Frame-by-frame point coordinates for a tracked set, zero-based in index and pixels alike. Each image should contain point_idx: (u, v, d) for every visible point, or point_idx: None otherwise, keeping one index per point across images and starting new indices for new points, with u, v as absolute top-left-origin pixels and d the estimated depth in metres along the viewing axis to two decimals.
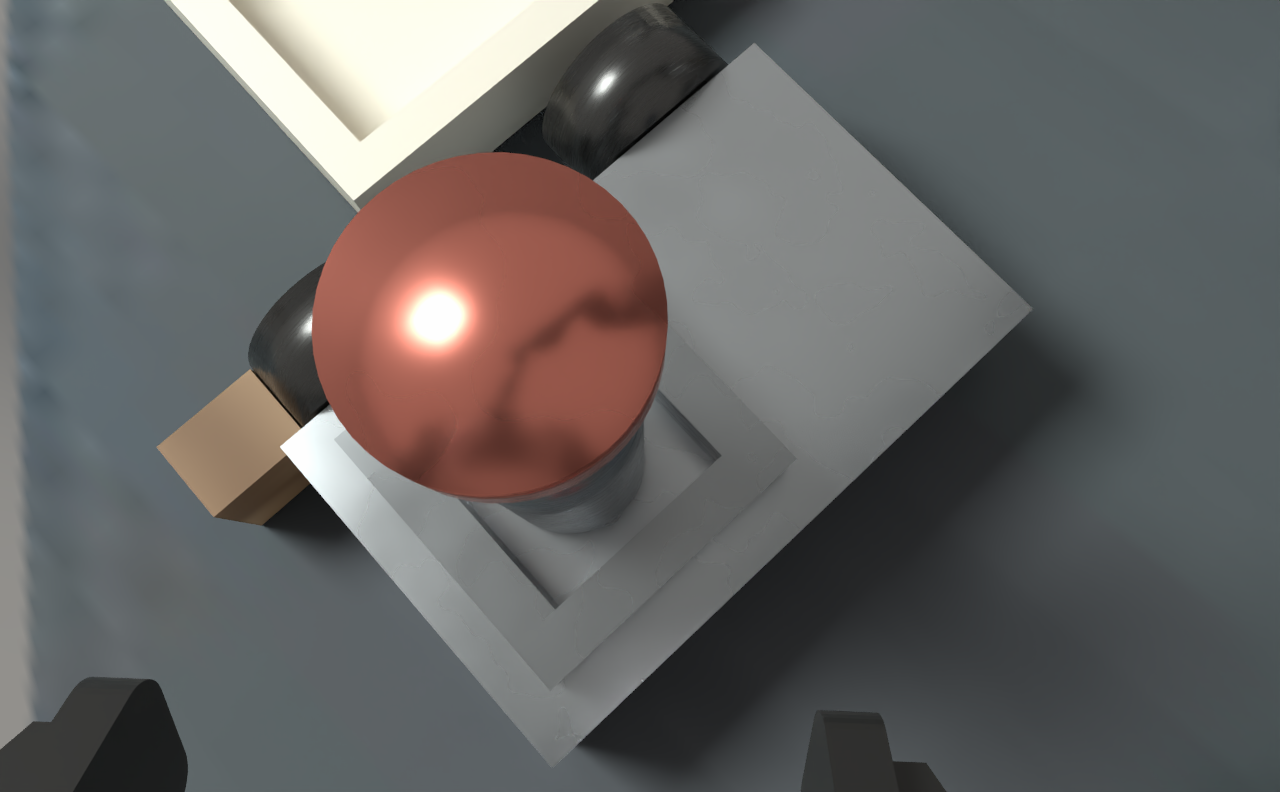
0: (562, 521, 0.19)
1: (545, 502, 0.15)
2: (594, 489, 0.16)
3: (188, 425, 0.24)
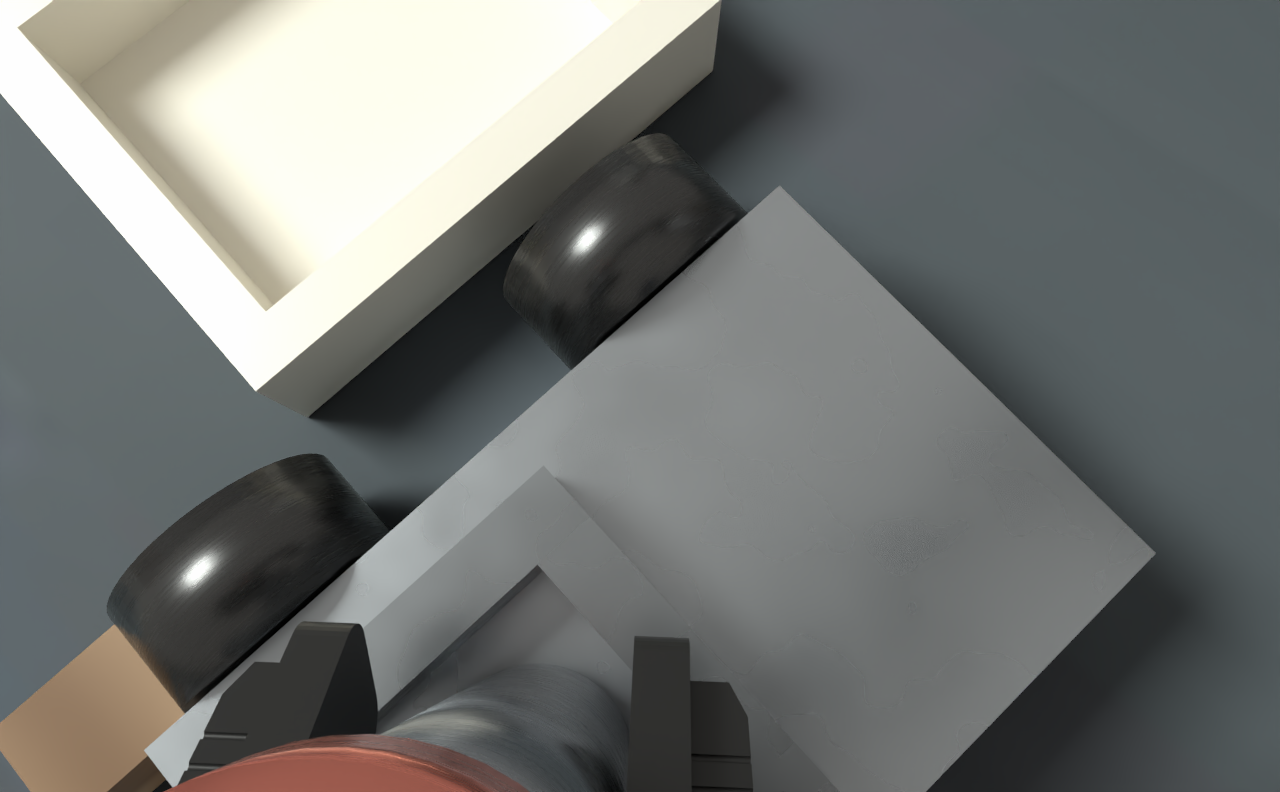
0: None
1: None
2: None
3: (30, 702, 0.18)
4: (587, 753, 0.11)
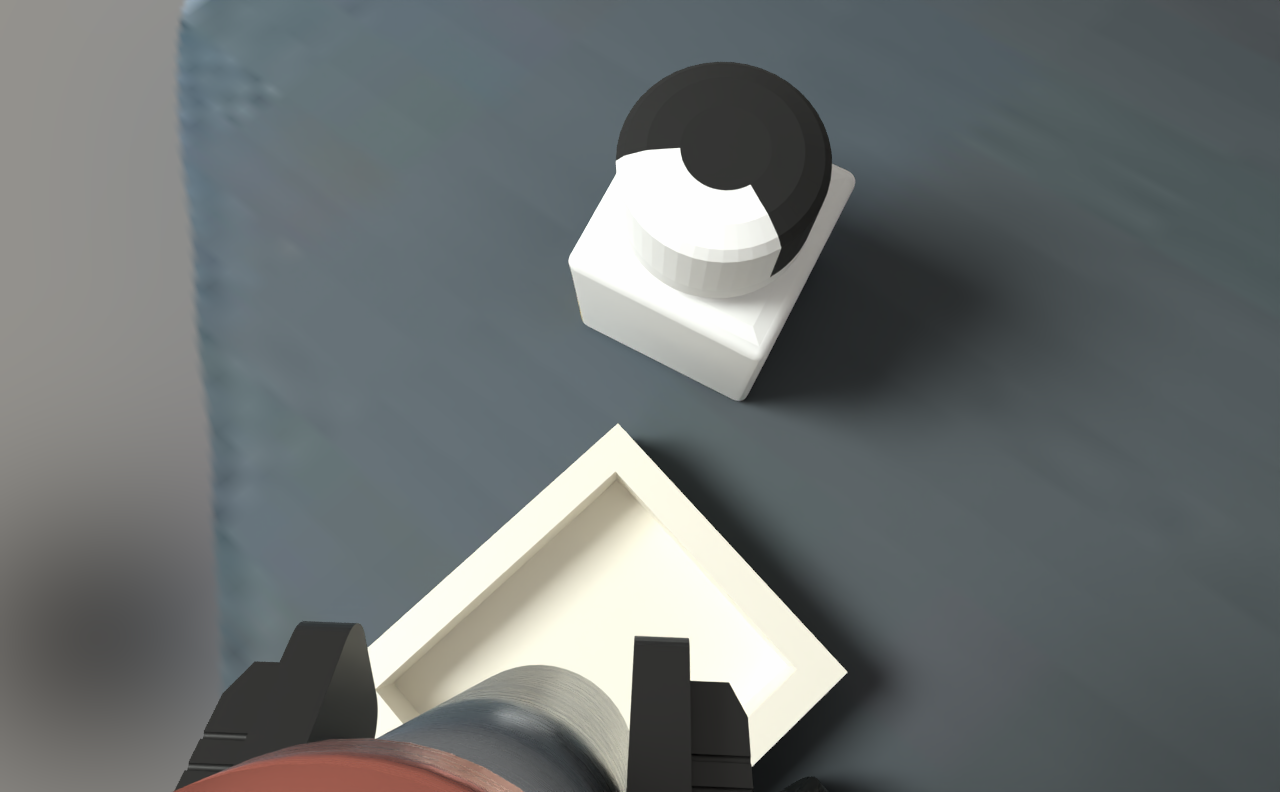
0: None
1: None
2: None
3: None
4: (587, 755, 0.11)
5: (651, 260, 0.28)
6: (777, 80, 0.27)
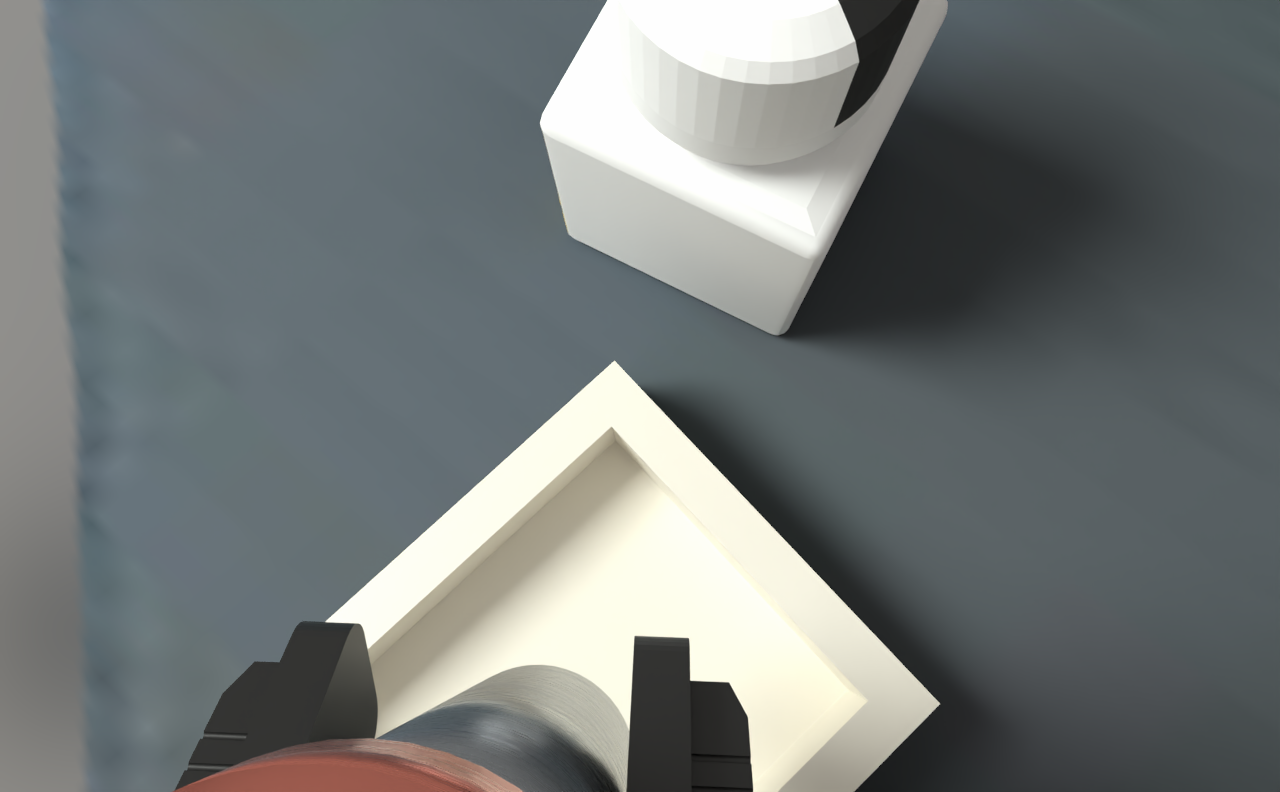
0: None
1: None
2: None
3: None
4: (587, 755, 0.11)
5: (658, 101, 0.19)
6: None
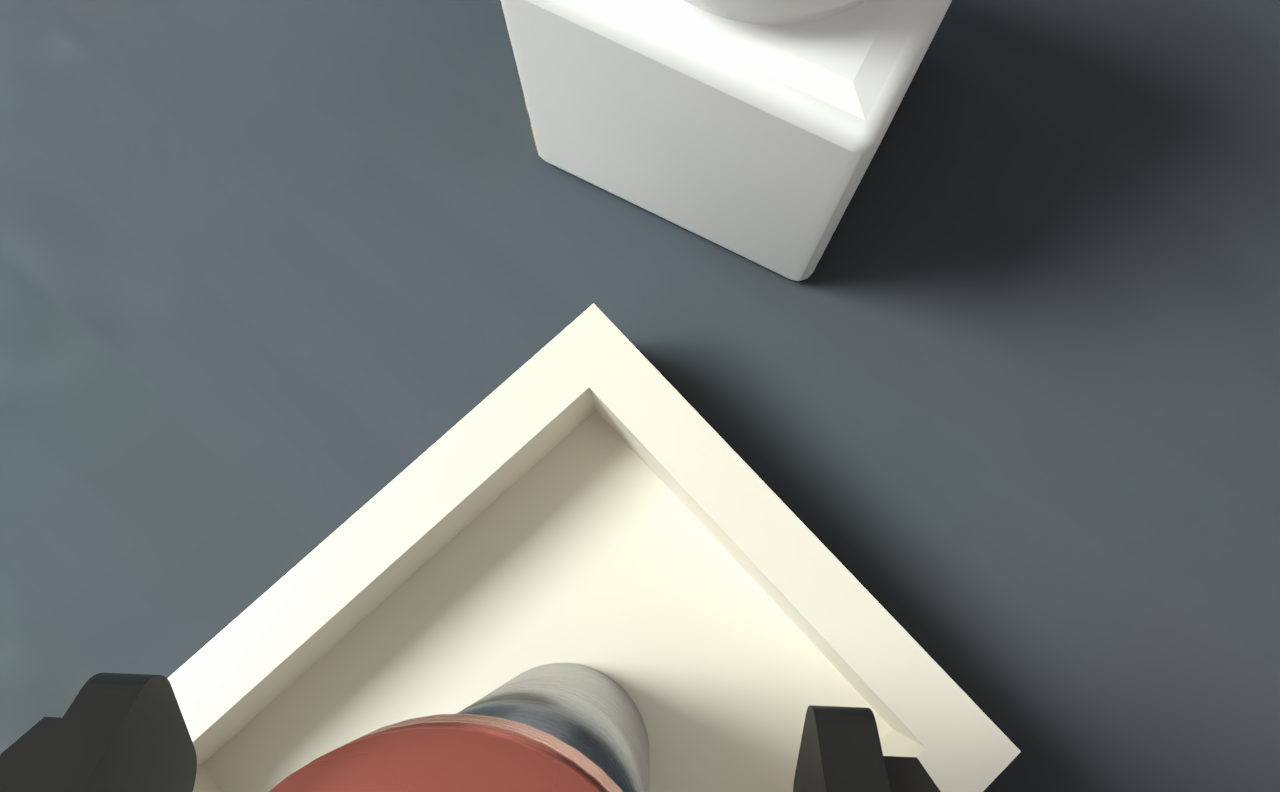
0: None
1: None
2: None
3: None
4: (614, 736, 0.13)
5: None
6: None
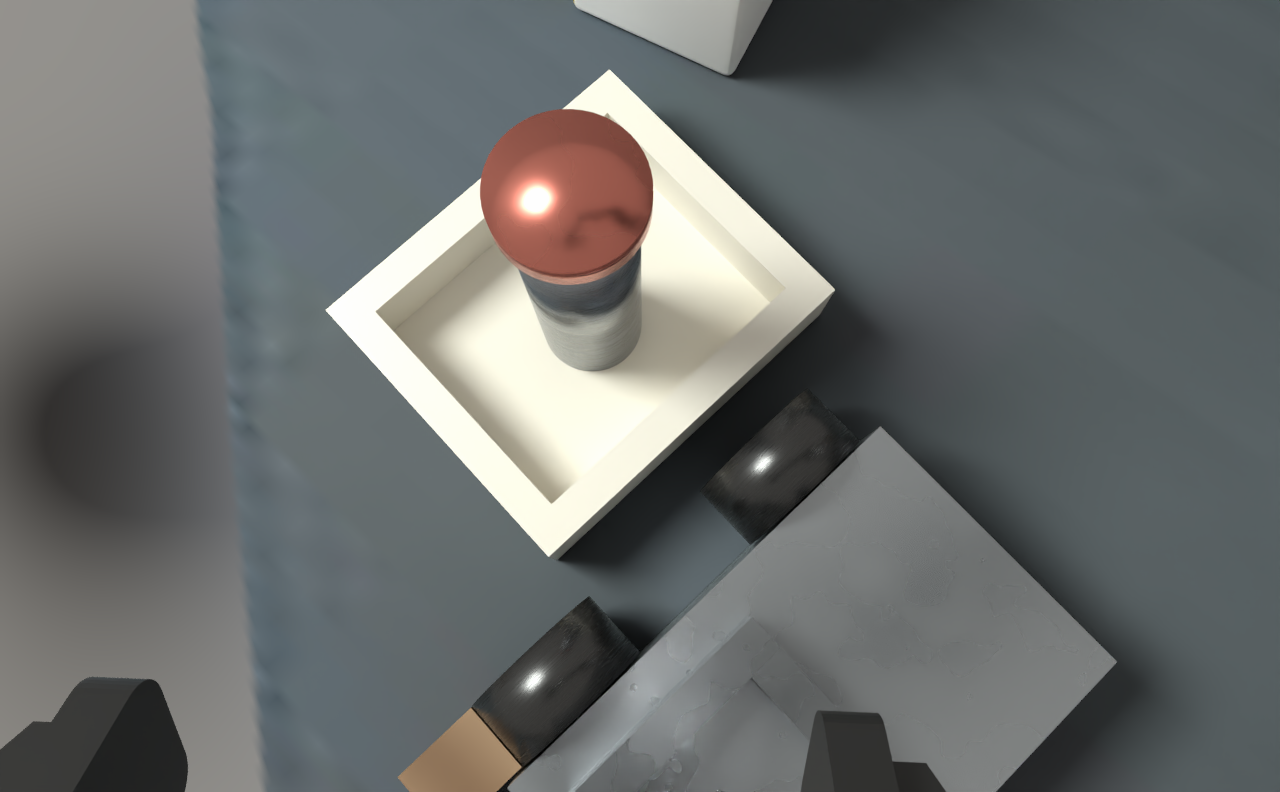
0: (591, 344, 0.31)
1: (586, 310, 0.27)
2: (613, 307, 0.27)
3: (422, 757, 0.29)
4: None
5: None
6: None
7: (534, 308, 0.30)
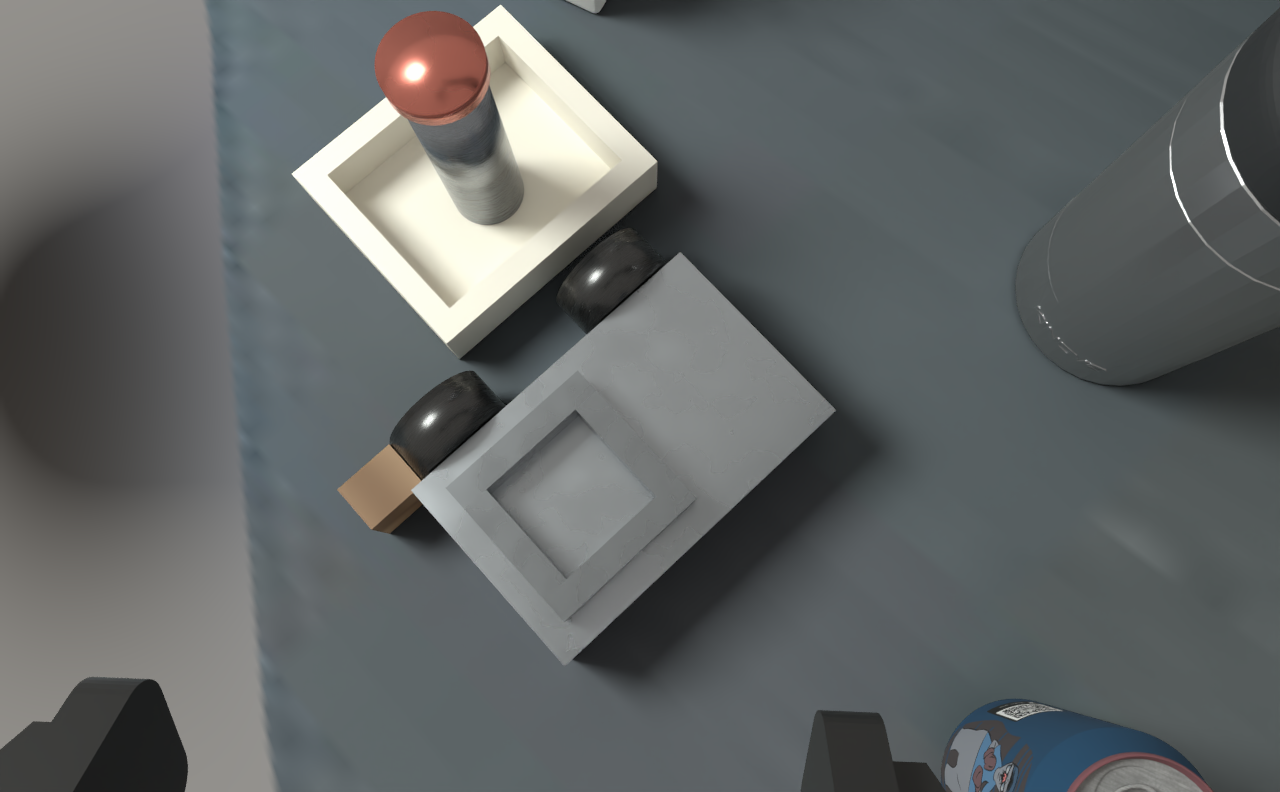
0: (475, 193, 0.43)
1: (458, 155, 0.40)
2: (479, 156, 0.40)
3: (354, 476, 0.42)
4: None
5: None
6: None
7: None
